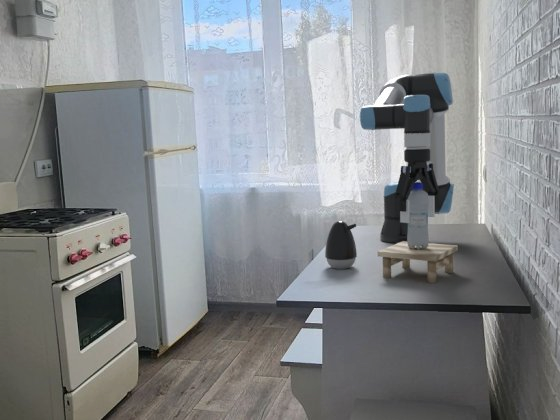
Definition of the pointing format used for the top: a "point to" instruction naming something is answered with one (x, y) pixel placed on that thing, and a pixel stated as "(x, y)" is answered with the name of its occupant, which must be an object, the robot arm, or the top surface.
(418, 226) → the bottle
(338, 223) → the pump dispenser
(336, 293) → the top surface
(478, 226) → the top surface
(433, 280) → the footstool
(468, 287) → the top surface
